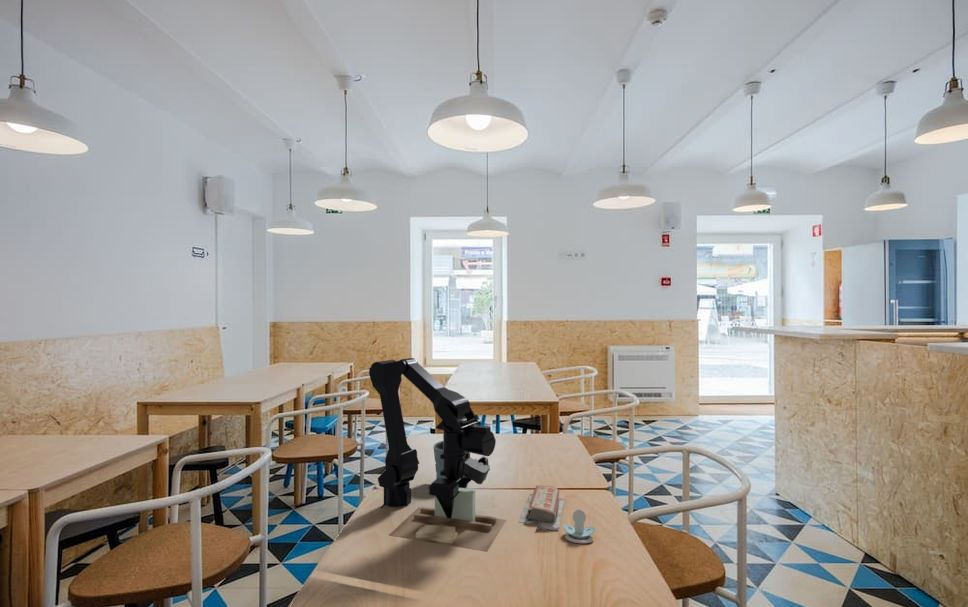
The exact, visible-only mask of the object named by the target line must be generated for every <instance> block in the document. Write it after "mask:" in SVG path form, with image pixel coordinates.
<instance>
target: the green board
mask: <svg viewBox="0 0 968 607" xmlns="http://www.w3.org/2000/svg"><path fill="white" fill-rule="evenodd" d="M458 491H460V493H459V494H458V495H457V496H456V497H455V498H454V505H453V512H452V517H451V518H453V519H460V520H466V521H473V522H475V515H476V489H473V488H467V489H466V488H459V489H458ZM434 509H435V516H439V517H446V515H445V513H444V511H443V509H442V507H441V505H440V503H439V501H438V499H437V498H436V496H434ZM446 518H447V517H446Z"/></svg>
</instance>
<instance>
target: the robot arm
mask: <svg viewBox="0 0 968 607" xmlns="http://www.w3.org/2000/svg"><path fill="white" fill-rule="evenodd" d="M368 375H369V378H370V381H371V384H372V387H373V389H374V390H375V391H376V392H377V393H378V395H379V397H380V404H381V408H382V409H381V410H382V415H383V420H384V428H385V433H386V439H387V443H388V444H387V445H388V450H387V453H386V457H385V460H384V464H385V470H383V472H382V473H381V474H380V475H379V476H378V477H377V481H378V482H377V483H378V486H379V487H381V488H383V503H382V504H381V506H380V509H381V510H382V509H383V508H384V507H386V506H387V507H391V508H400V507H408V506H409V505H410V504H411V503H412V488H410V487H411V486H410V485H411V484H410V482H412V481H414V479H415V476H416V474H417V472H418V471H419V464H420V461H419V458H418V451H417V449H416V448H414V449H412V448H411V446H410V445H409V444H408V440H407V434H406V428H405V423H404V418H403V412H402V407H401V406H402V405H401V401H400V396H399V389H400V386H401V383H402V376H404V377H405V378H406V379H407V380H408V381H409V382H410V383H411V384H412V385H413V386H414V387H415V388H416V389H418V390H419V391H420V392H421V393H422V394H423V395H424V396H425V397H426V398H427V399H428V400H429V401H430V402H431V403H432V405H433V410H434V412H435V413H436V414H437V416H438V417H439V418H440V419H441V422H440V423H438V425H436V426H435V428H436V429H437V430H441V431H443V432H442V433H443V434H442V436H443V438H442V439H443V440H442V441H443V453H442V454H441V455H440V459H443V470H441V471H440V475H441V476H445V477H446V479H445V478H437V479H436V478H435V480H433V481H432V482H431V483H430V484H429V485H428V494H429V496H433V497H435V496H436V498H437V499H438V501H439V503H440V505H441V507H442V509H443V511H444V513H445V515H446V517H447V518H451V517H452V512H453V505H454V498H455V497H456V496H457V495H458V494H459V493H460V491H458V489H459V488H466V489H468V485H469V483H470V482H471V481H472V482H474V483H476V484H477V485H483V483H484V481H486V479H487V477H488V473H489V471H490V470H491V469H490V467H491V465H489V458H488V457H490V456H491V455H492V454H493V452H494V450H495V447H496V441H497V440H496V438H495V434H494V433H493V432H492V431H491V428H492V427H491V426H489V425H480V423H479V422H480V421H479V420H478V417H477V416H476V414H475V413H474V411H473V409H472V407H471V402H470V401H469V400H468V398H466V397H465V396H464V395H462V394H460V393H458V392H457V391H454V390H451V389H448V388H447V387H445V386H444V385H443V384H441V382H440V381H439V380H437V379H436V377H434V376H433V375H432V374H430V372H428V371H427V370H426V369H425V368H424V367H423V366H422V365H421V364H420V363H419V361H418V360H417V359H416V358H414V357H407V358H402V359H400V360H395V359H385V360H381V361H374V362H373V363H372V364H371V365H370V367H369V369H368ZM462 420H463V421H462ZM459 421H460V422H459ZM471 454H476V455H479V456H481V457H480V458H478V459H477V458H475V459H474V458H472V457H471Z"/></svg>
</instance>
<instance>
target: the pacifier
mask: <svg viewBox="0 0 968 607" xmlns="http://www.w3.org/2000/svg"><path fill="white" fill-rule="evenodd" d="M586 517H587V515H586V514H585V511H583V510H582V509H576V510H575V511H573V514H572V520H573V522H574V526H572V525H570V524H568V523H566V524H565V523H563V529H564V531H565V532H566V533H567V534H566V535H565V536H564V538H565V539H566V540H567V541H569V542H571V543H575V544H589V543H592V542H593V541H594V538H593V537H592V536H591V535H593V534H594V533H595V530H596V527H595V526H587V527H585V522H586V521H587V520H586ZM571 536H572V537H571ZM575 538H576V539H575ZM585 538H587V539H585Z"/></svg>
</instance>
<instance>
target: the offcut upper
mask: <svg viewBox="0 0 968 607" xmlns="http://www.w3.org/2000/svg"><path fill="white" fill-rule="evenodd" d="M454 533H455V527H451V526H435V525H425V526H424V528H423V530H422V535H426V536H441V537H453V535H454Z"/></svg>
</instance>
